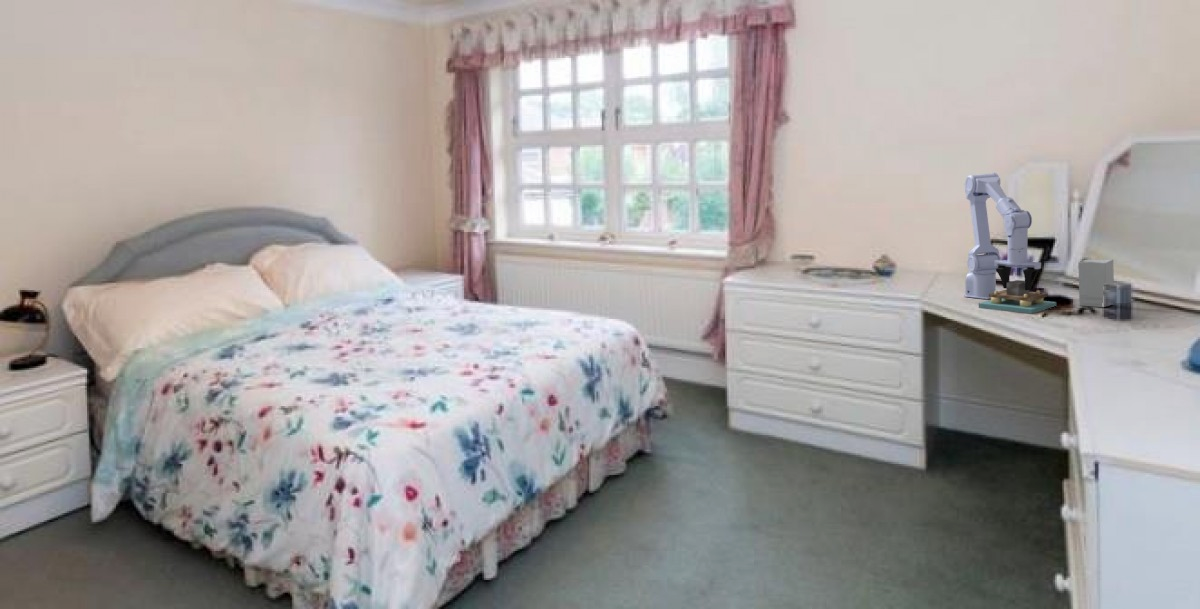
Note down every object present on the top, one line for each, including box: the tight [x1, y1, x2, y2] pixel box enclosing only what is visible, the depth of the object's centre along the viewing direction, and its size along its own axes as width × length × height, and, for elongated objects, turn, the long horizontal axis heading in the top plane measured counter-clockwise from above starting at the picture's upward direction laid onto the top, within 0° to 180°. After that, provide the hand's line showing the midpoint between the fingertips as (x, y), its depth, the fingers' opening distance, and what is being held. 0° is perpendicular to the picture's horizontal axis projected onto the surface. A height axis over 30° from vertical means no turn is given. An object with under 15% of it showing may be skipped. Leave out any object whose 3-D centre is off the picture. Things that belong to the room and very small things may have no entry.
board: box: [989, 279, 1048, 301], centre depth 247 cm, size 14×10×5 cm
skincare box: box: [1078, 258, 1115, 308], centre depth 239 cm, size 8×6×15 cm
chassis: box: [978, 290, 1057, 315], centre depth 247 cm, size 18×14×6 cm
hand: (1016, 288), depth 246 cm, fingers open, 7 cm apart
